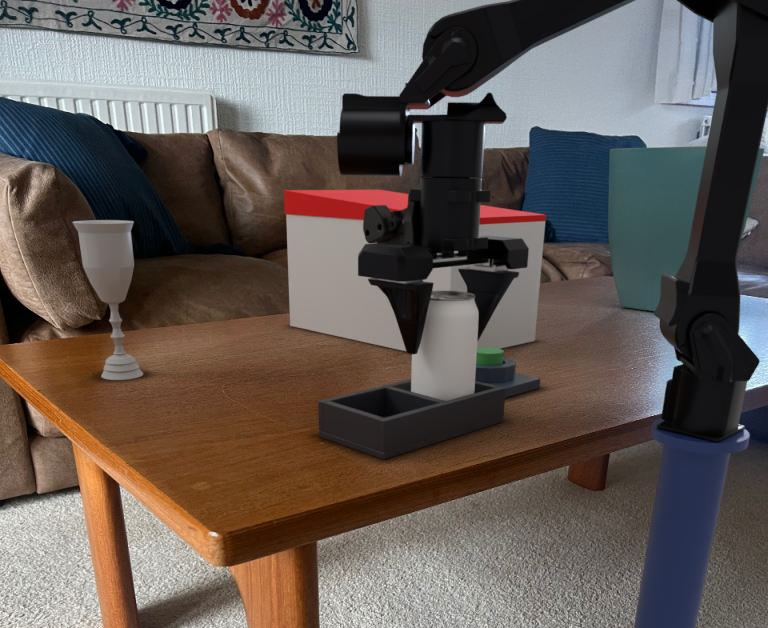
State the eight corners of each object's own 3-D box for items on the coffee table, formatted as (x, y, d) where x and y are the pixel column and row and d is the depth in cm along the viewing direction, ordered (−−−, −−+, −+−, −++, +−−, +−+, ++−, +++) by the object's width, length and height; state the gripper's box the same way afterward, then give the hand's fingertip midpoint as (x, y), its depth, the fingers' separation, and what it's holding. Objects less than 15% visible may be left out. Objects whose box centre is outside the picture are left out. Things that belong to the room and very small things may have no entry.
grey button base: (539, 388, 94) (542, 363, 93) (498, 400, 89) (500, 374, 88) (475, 373, 101) (476, 350, 99) (433, 383, 95) (434, 359, 94)
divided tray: (503, 421, 81) (505, 387, 80) (383, 459, 70) (384, 421, 69) (438, 403, 87) (439, 372, 86) (318, 436, 76) (317, 400, 75)
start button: (508, 365, 94) (510, 350, 93) (490, 369, 91) (491, 355, 91) (485, 360, 96) (486, 346, 95) (466, 364, 94) (467, 350, 93)
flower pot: (589, 307, 152) (607, 147, 141) (643, 297, 164) (664, 149, 153) (685, 320, 139) (714, 145, 127) (736, 309, 151) (766, 148, 140)
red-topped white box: (377, 312, 143) (378, 189, 135) (534, 340, 121) (547, 195, 112) (288, 325, 130) (283, 190, 122) (446, 360, 107) (453, 196, 99)
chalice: (91, 370, 99) (70, 220, 92) (146, 366, 102) (130, 219, 95) (96, 384, 93) (74, 224, 86) (154, 379, 96) (137, 223, 89)
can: (441, 427, 77) (446, 302, 72) (397, 412, 81) (399, 293, 76) (486, 415, 80) (493, 295, 76) (441, 401, 85) (446, 288, 80)
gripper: (451, 177, 83) (445, 325, 89) (316, 176, 71) (320, 347, 77) (538, 179, 76) (524, 339, 82) (404, 177, 64) (400, 366, 70)
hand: (443, 347), depth 78 cm, fingers open, 9 cm apart
